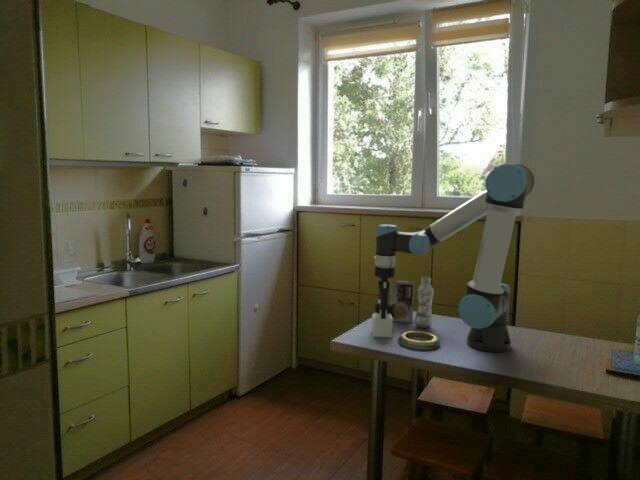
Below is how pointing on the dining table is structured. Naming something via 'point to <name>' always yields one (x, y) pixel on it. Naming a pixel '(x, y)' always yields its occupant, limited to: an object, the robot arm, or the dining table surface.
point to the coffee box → (402, 301)
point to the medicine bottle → (376, 329)
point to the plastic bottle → (424, 303)
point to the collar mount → (419, 341)
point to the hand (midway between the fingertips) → (381, 321)
